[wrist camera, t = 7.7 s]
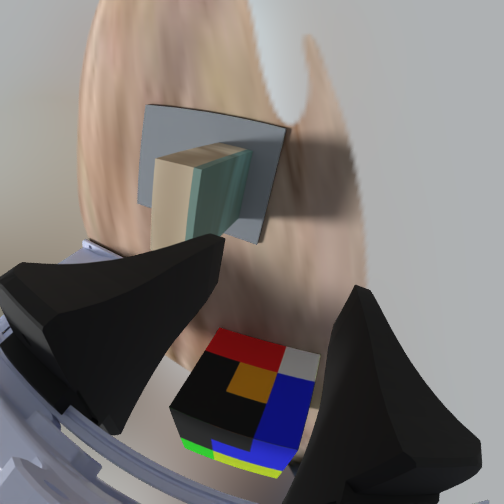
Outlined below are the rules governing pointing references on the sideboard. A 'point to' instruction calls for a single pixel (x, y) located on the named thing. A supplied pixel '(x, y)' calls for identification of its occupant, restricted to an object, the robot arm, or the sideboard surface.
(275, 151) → the mat
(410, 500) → the robot arm
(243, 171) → the tile
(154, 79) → the sideboard surface
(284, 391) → the puzzle toy
